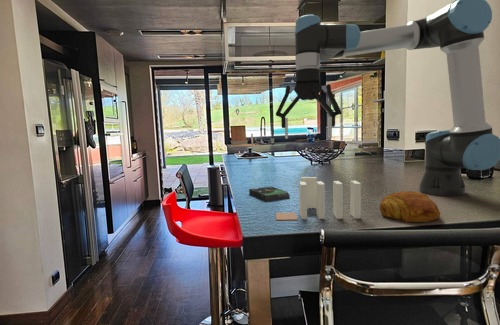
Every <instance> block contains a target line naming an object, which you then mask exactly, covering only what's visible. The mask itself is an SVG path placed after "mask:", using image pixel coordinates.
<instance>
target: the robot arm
mask: <svg viewBox="0 0 500 325" xmlns="http://www.w3.org/2000/svg"><path fill="white" fill-rule="evenodd" d="M492 19H493V10H492V7H491V5H490V4H489V2H488V1H487V0H453V1H452V2H451V3H449V4H447V5H446V6H444V7H442V8H440V9H439V10H437V11H435V12H433V13H432V14H430V15H427V16H425V17H423V18H420V19H418V20H413V21H409V22H408V23H407V24H405V25H398V26H390V27H384V28H378V29H376V28H374V29H370V30H363V31H361V30H360V27H359V25H357V24H354V23H352V24H351V23H321V17H319V15H314V14H305V15H302V16H299V17H298V18H297V19H296V21H295V29H294V30H295V32H294V36H295V38H294V40H295V41H294V42H295V43H294V44H295V45H294V46H295V70H296V71H295V84H294V85H295V86H290V85H286V87H285V91H284V95H283V98H282V100H281V102H280V104H279V105H278V108H277V111H276V112H275V116H276V117H279V118H280V119H281V120H280V121H281V123H280V124H281V128H282V129H284V139H286V140H287V139H289V118H288V117H286V116H287V115H288V114H289V113H290V112H291V110H292V109H293V108H294V106H296V104H297V103H298V102H299V101H300V100H301V101H308V100H309V101H313V100H315V101H317V102H318V103H319V105H320V106H321V107H322V108H323V109H324V110H325V111H326V112H327V114H328V115H329V116H328V117H327V138H329V139H331V138H333V134H332V133H333V128H334V127H335V126H336V117H337V116H338V115H341V114H342V110H341V108H340V106H339V103H338V102H337V100H336V98H335V96H334V94H333V92H332V87H331V84H330V83H328V84H325V85H321V70H320V68H321V62H327V61H328V60H330V59H336V58H337V59H338V58H343V57H348V56H356V55H365V54H371V53H377V52H378V53H379V52H385V51H393V50H398V49H406V50H408V51H413V50H421V49H423V50H424V49H432V48H440V51H441V52H443V53H445V54H446V62H447V72H448V82H449V90H450V101H451V102H450V103H451V109H452V110H451V112H452V120H453V121H452V122H453V126H452V127H451V128H450V129H448V130H445V129H444V130H437V131H431V132H429V133H427V134H426V136H425V142H424V145H425V146H424V147H425V150H424V172H423V174H422V178H421V179H420V182H419V185H418V191H419V192H420V193H422V194H426V195H427V194H428V195H433V196H434V195H435V196H451V197H452V196H453V197H455V196H456V197H457V196H463V195H465V194H467V193H466V189H467V188H466V184H465V181H464V179H463V176H462V172H461V170H462V169H466V170H469V171H470V170H471V171H476V170H477V171H486V170H489V169H491V168H493V167H495V166H496V165H497V164H498V162H499V161H500V138H499V136H497V135H496V134H494V132H493V126H492V125H491V124H489V123H488V122H487V121H486V113H485V112H486V111H485V102H484V101H485V100H484V99H485V98H484V90H483V80H482V79H483V78H482V70H481V69H482V66H481V58H480V50H479V49H480V45H481V44H482V43H483V41H484V40H485V34H484V32H485V30H486V29H487V28H489V26H490V24H491V23H492ZM322 90H323V92H324V93H325V94H326V96H327V99H328V100H329V103H330V104H331V107H332V108H333V109H332V108H331V107H330V106H329V104H328V103H327V101H325V100H324V98H323V97H322V96H321V94H320V93H321V92H322ZM293 92H294V93H295V94H296V97H295V98H294V99H293V100H292V101H291V103H290V104H289V105H288V107H286V109H285V110H284V112H283V113H281V112H282V110H283V108H284V106H285V104H286V102H287V101H288V97H289V96H290V94H292V93H293Z"/></svg>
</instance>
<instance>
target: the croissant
mask: <svg viewBox="0 0 500 325" xmlns="http://www.w3.org/2000/svg"><path fill="white" fill-rule="evenodd" d="M379 209H380V212H381V215H382V216H384V217H387V218H390V219H395V220H398V221H399V220H400V221H402V222H405V223H429V222H432V221H435V220H437V219H439V218H440V216H441V211H440V210H439V207H438V205H437V204H436V202H434V201H433V200H432V199H431V198H430V197H429V196H428V195H427V194H426V193H422V192H418V191H412V190H411V191H398V192H392V193H390V194H388V195H386V196H384V197H383V198H382V200H381V202H380V203H379Z"/></svg>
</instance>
